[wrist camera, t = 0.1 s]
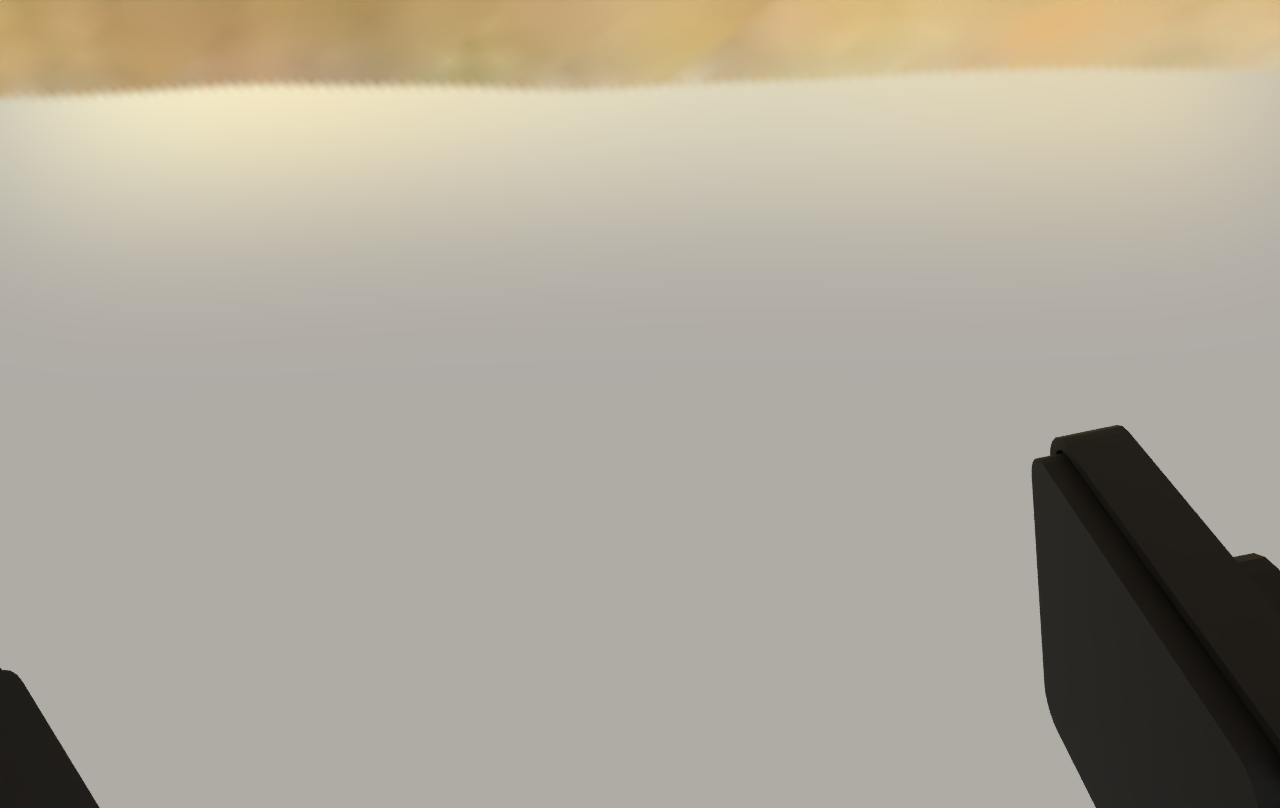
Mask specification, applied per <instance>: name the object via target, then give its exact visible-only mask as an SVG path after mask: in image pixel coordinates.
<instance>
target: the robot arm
mask: <svg viewBox="0 0 1280 808" xmlns="http://www.w3.org/2000/svg"><path fill="white" fill-rule="evenodd" d="M1032 487H1033V503H1034V520H1035V536H1036V553H1037V569H1038V586H1039V602H1040V618H1041V635H1042V649H1043V650H1042V651H1043V667H1044V683H1045V693H1046V697H1047V702H1048V706H1049V710H1050V713H1051V716H1052V719H1053V722H1054V724H1055V726H1056V729H1057V730H1058V733H1059V735H1060V737H1061V739H1062V741H1063V743H1064V745H1065V747H1066V748H1067V751H1068V753H1069V755H1070V757H1071V759H1072V761H1073V763H1074V765H1075V767H1076V769H1077V771H1078V772H1079V775H1080V777H1081V779H1082V781H1083V783H1084V785H1085V787H1086V789H1087V791H1088V793H1089V794H1090V797H1091V799H1092V801H1093V802H1094V804H1095V807H1096V808H1280V570H1279V569H1278V568H1277V567H1276V566H1275V565H1273V564H1272V563H1271V562H1270V561H1269V560H1268V559H1267V558H1266V557H1263V556H1260V555H1257V554H1255V553H1252V554H1247V555H1242V556H1237V557H1232V555H1231V554H1230V553H1229V552H1228V551H1227V549H1226V548H1225V547H1224V546H1223V545H1222V543H1221V542H1220V541H1219V540H1218V539H1217V537H1216V536H1215V535H1214V534H1213V533H1212V531H1211V530H1210V529H1209V528H1208V527H1207V525H1206V524H1205V523H1204V522H1203V521H1202V519H1201V518H1200V517H1199V516H1198V514H1197V513H1196V512H1195V511H1194V510H1193V509H1192V508H1191V506H1190V505H1189V504H1188V502H1187V501H1186V500H1185V499H1184V498H1183V496H1182V495H1181V494H1180V493H1179V492H1178V490H1177V489H1176V488H1175V487H1174V486H1173V485H1172V483H1171V482H1170V481H1169V480H1168V478H1167V477H1166V476H1165V475H1164V474H1163V473H1162V471H1161V470H1160V469H1159V468H1158V466H1157V465H1156V464H1155V463H1154V462H1153V460H1152V459H1151V458H1150V457H1149V456H1148V454H1147V453H1146V452H1145V451H1144V450H1143V448H1142V447H1141V446H1140V445H1139V444H1138V442H1137V441H1136V440H1135V439H1134V438H1133V437H1132V435H1131V434H1130V433H1129V432H1128V431H1127V430H1126V429H1125V428H1124V427H1123V426H1119V425H1115V426H1111V427H1105V428H1100V429H1096V430H1091V431H1086V432H1082V433H1076V434H1071V435H1066V436H1062V437H1057V438H1055V439H1054V440H1053V441H1052V444H1051V449H1050V456H1047V457H1042V458H1037V459H1035V460H1034V461H1033V464H1032ZM0 808H99V806H98V805H97V803H96V801H95V800H94V798H93V797H92V795H91V793H90V791H89V790H88V788H87V787H86V785H85V783H84V782H83V780H82V778H81V777H80V775H79V773H78V772H77V770H76V769H75V767H74V765H73V764H72V762H71V761H70V759H69V757H68V756H67V754H66V752H65V750H64V749H63V747H62V746H61V744H60V742H59V741H58V739H57V737H56V736H55V734H54V732H53V731H52V729H51V728H50V726H49V724H48V723H47V721H46V719H45V718H44V716H43V715H42V713H41V711H40V710H39V708H38V706H37V705H36V703H35V701H34V700H33V698H32V696H31V695H30V693H29V692H28V690H27V689H26V687H25V685H24V683H23V682H22V681H21V679H20V678H19V677H18V675H17V674H15V673H13V672H12V671H8V670H2V669H1V668H0Z"/></svg>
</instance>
